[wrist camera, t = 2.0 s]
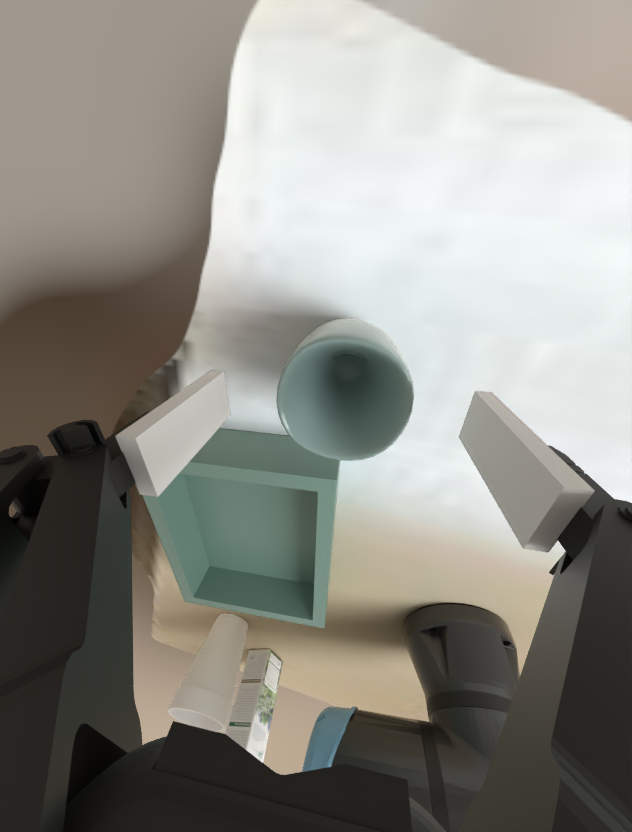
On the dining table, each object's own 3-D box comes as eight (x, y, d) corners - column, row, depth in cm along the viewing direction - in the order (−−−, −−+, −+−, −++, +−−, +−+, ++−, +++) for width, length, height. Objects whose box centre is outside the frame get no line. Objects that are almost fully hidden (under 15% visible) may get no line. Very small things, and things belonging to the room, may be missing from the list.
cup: (299, 385, 25) (267, 444, 17) (315, 300, 22) (285, 318, 13) (377, 406, 25) (386, 475, 16) (408, 323, 21) (440, 357, 13)
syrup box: (248, 649, 56) (215, 757, 44) (271, 648, 54) (243, 761, 42) (262, 661, 59) (235, 768, 46) (284, 661, 57) (262, 772, 44)
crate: (329, 582, 40) (324, 628, 35) (206, 561, 43) (184, 601, 37) (341, 441, 28) (337, 480, 22) (167, 422, 30) (126, 454, 25)
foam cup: (250, 639, 54) (220, 736, 43) (207, 624, 54) (166, 717, 42) (260, 619, 49) (230, 723, 38) (214, 603, 49) (169, 702, 38)
